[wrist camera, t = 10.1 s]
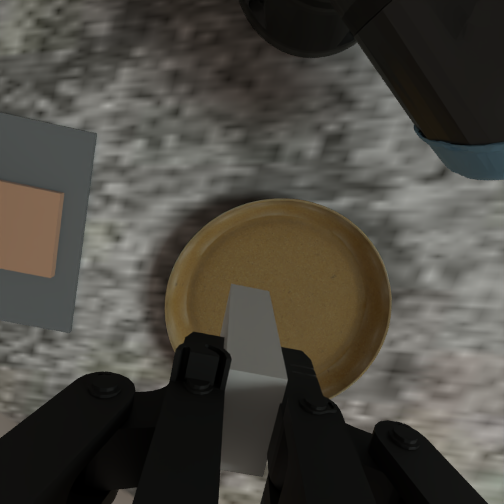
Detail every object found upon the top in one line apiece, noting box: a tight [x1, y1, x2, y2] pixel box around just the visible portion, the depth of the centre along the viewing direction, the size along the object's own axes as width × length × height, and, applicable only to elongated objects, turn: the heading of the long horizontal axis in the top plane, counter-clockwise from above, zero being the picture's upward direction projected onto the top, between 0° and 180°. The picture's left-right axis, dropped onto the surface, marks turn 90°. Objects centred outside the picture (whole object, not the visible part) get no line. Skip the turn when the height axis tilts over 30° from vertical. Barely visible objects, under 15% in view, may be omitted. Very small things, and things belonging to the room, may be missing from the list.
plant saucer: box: [165, 198, 392, 399], centre depth 46 cm, size 24×24×3 cm
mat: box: [0, 112, 97, 333], centre depth 44 cm, size 22×14×1 cm, turn 168°
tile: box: [0, 180, 64, 278], centre depth 44 cm, size 9×1×10 cm
